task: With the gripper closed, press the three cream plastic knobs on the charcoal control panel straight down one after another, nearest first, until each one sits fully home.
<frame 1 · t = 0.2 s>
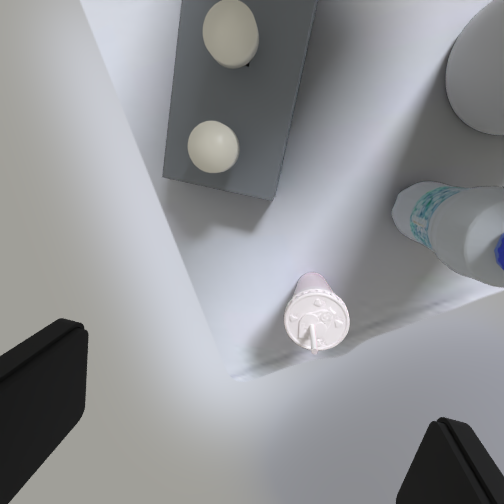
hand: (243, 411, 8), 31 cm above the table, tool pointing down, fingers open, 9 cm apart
bottle: (416, 208, 35), on the table
knob middle: (236, 45, 28), point 6 cm above the table, slide at 0.0 cm
knob 2: (220, 149, 31), point 6 cm above the table, slide at 0.0 cm
smoothie: (311, 285, 40), on the table
control panel: (247, 66, 34), on the table
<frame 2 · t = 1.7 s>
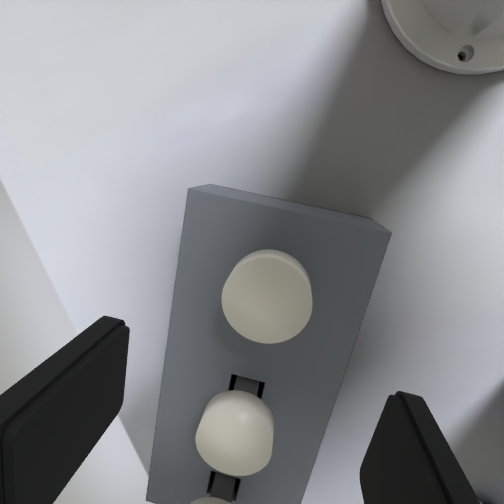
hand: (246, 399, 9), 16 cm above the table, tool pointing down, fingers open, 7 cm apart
knob middle: (242, 404, 21), point 6 cm above the table, slide at 0.0 cm
knob 2: (219, 501, 23), point 6 cm above the table, slide at 0.0 cm
knob 1: (271, 280, 18), point 6 cm above the table, slide at 0.0 cm
control panel: (254, 351, 26), on the table
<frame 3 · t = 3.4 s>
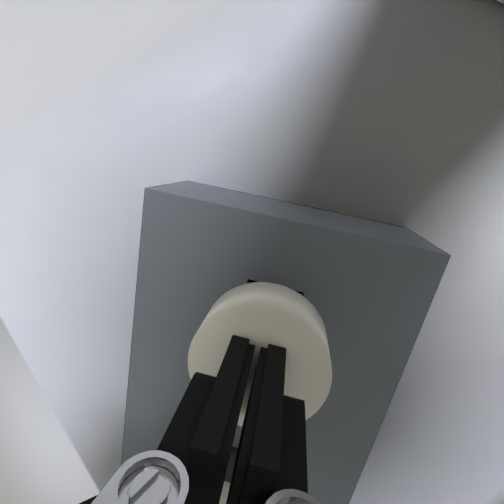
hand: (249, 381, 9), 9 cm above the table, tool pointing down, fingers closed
knob middle: (228, 487, 15), point 6 cm above the table, slide at 0.0 cm
knob 1: (267, 321, 12), point 6 cm above the table, slide at 0.3 cm, touching gripper
control panel: (248, 395, 21), on the table
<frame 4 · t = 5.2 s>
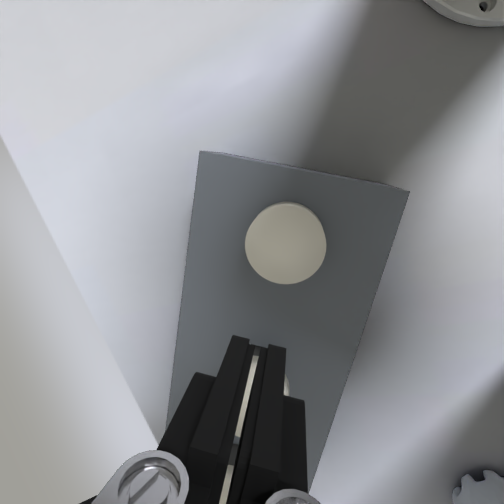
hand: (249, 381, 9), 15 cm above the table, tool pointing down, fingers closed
bottle: (483, 487, 28), on the table
knob middle: (256, 372, 20), point 6 cm above the table, slide at 0.0 cm
knob 2: (234, 470, 23), point 6 cm above the table, slide at 0.0 cm
knob 1: (287, 233, 20), point 4 cm above the table, slide at 2.3 cm
control panel: (266, 324, 26), on the table
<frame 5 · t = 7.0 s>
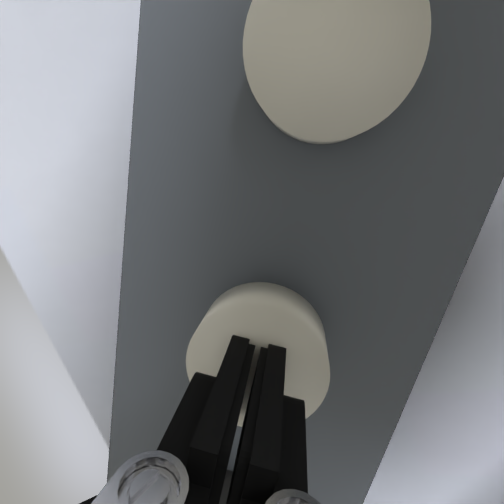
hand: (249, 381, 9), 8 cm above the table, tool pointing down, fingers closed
knob middle: (266, 321, 12), point 5 cm above the table, slide at 1.5 cm, touching gripper
knob 1: (323, 77, 10), point 4 cm above the table, slide at 2.3 cm
control panel: (274, 279, 17), on the table
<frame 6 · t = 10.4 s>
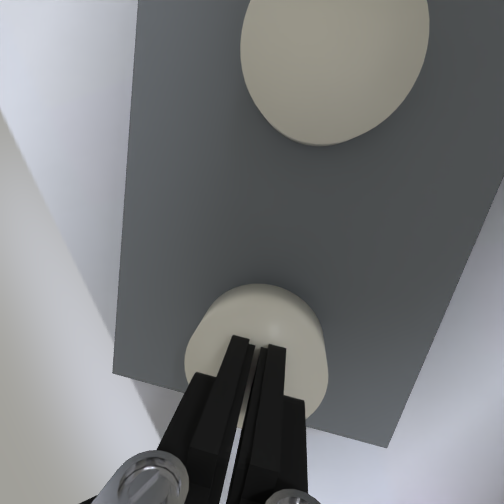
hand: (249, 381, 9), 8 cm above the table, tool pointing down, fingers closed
knob middle: (321, 79, 10), point 4 cm above the table, slide at 2.3 cm
knob 2: (264, 322, 12), point 5 cm above the table, slide at 1.6 cm, touching gripper
control panel: (315, 100, 14), on the table
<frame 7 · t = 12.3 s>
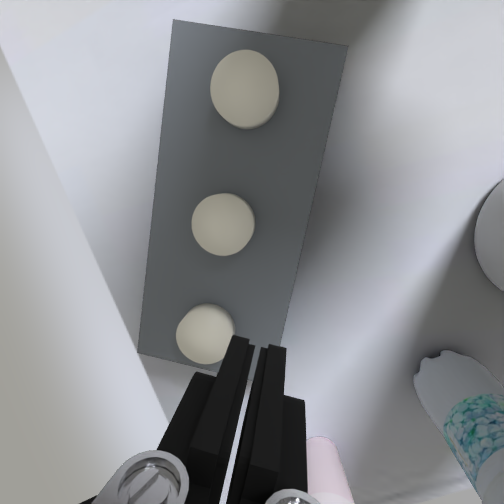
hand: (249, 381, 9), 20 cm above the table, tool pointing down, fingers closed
bottle: (441, 372, 30), on the table
knob middle: (230, 220, 25), point 4 cm above the table, slide at 2.3 cm
knob 2: (213, 321, 27), point 4 cm above the table, slide at 2.3 cm
smoothie: (319, 449, 33), on the table
knob 1: (250, 100, 23), point 4 cm above the table, slide at 2.3 cm
control panel: (238, 215, 29), on the table
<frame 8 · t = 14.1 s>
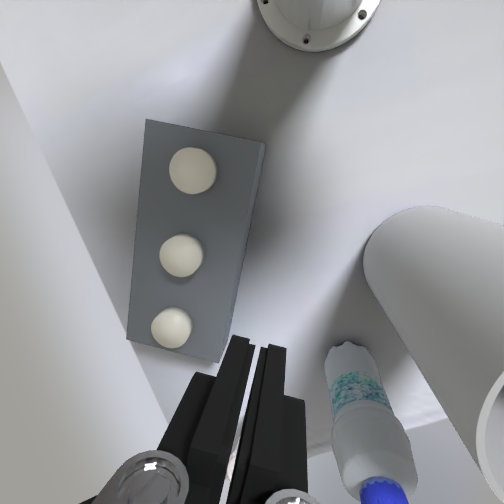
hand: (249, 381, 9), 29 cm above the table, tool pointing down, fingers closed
bottle: (347, 357, 41), on the table
knob middle: (189, 249, 36), point 4 cm above the table, slide at 2.3 cm
knob 2: (179, 318, 38), point 4 cm above the table, slide at 2.3 cm
cylinder vase: (416, 258, 36), on the table
knob 1: (200, 170, 33), point 4 cm above the table, slide at 2.3 cm
control panel: (199, 242, 39), on the table
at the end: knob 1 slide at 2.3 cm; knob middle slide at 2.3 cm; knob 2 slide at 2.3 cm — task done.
